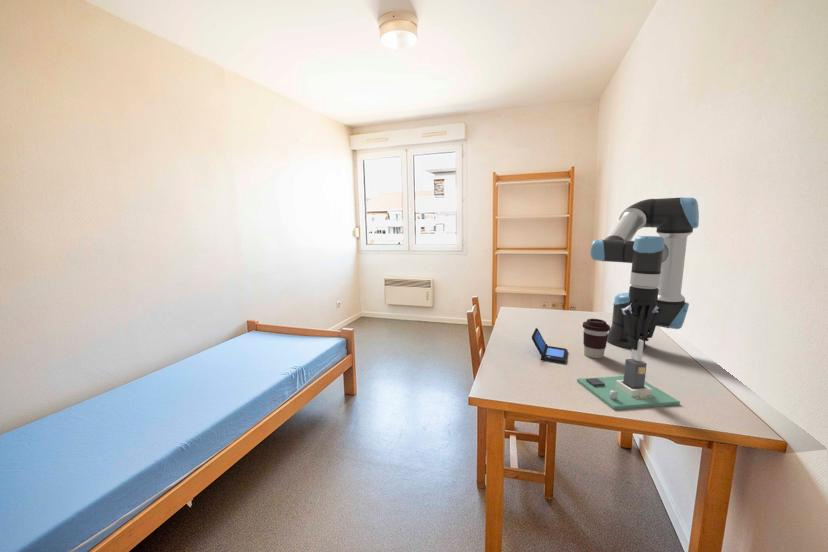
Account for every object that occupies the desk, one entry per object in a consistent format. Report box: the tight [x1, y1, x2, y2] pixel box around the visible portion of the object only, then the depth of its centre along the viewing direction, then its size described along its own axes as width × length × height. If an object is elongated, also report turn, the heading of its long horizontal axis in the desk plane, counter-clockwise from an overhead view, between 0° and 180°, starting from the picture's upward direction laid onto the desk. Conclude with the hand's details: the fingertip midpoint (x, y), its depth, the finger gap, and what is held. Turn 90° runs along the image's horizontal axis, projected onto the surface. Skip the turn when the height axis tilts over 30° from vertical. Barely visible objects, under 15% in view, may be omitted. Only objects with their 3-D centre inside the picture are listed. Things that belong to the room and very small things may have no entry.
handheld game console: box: [531, 327, 568, 364], centre depth 141 cm, size 16×13×9 cm
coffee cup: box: [582, 318, 611, 359], centre depth 140 cm, size 10×10×15 cm
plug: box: [623, 358, 647, 389], centre depth 108 cm, size 4×5×10 cm
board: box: [576, 375, 681, 410], centre depth 110 cm, size 22×18×3 cm
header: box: [615, 380, 652, 397], centre depth 109 cm, size 7×8×2 cm
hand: (636, 358), depth 108 cm, fingers closed
